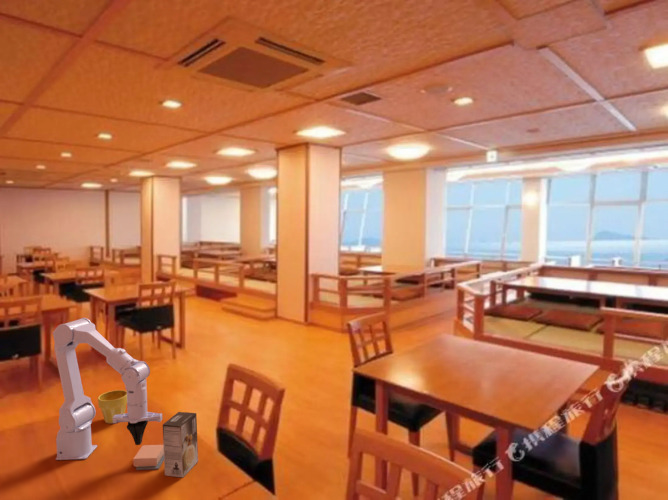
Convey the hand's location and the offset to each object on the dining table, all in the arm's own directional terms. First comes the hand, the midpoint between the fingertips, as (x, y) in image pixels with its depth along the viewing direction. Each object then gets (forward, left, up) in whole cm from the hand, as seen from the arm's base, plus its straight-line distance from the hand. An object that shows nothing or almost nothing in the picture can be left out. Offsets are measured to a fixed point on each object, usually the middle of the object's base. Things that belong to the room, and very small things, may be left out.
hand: (138, 443), depth 141 cm
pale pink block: (0, 0, -4) cm, 4 cm away
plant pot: (-20, +30, -6) cm, 37 cm away
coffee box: (+15, -5, -6) cm, 17 cm away
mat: (+4, 0, -6) cm, 7 cm away
